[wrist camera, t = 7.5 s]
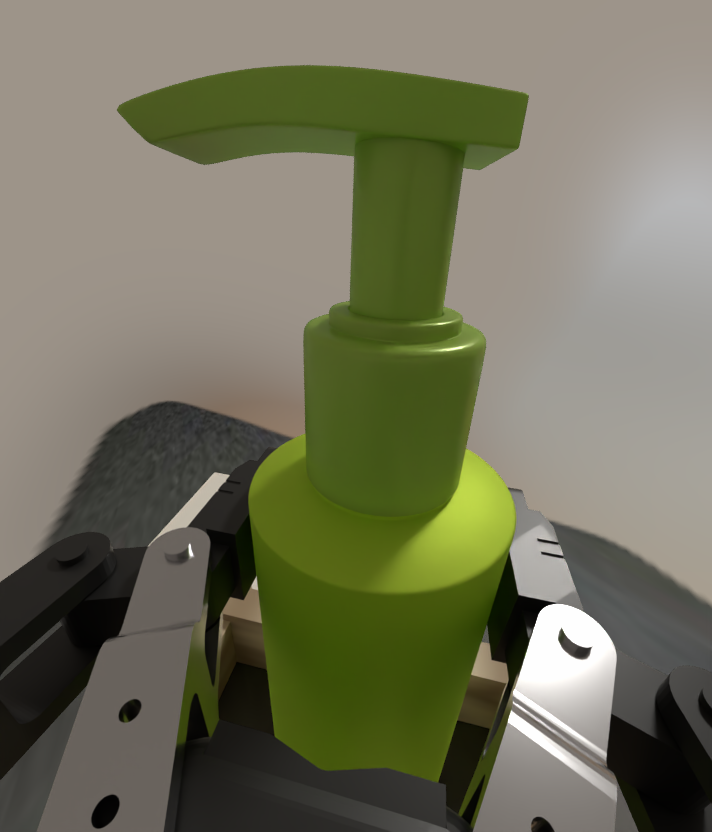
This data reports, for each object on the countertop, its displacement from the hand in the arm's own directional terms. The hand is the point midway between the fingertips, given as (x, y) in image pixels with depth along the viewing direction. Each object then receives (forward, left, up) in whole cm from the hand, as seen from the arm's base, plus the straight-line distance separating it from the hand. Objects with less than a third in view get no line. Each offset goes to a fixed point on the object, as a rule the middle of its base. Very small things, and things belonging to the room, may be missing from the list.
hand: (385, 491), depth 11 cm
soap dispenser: (0, +2, -11) cm, 12 cm away
